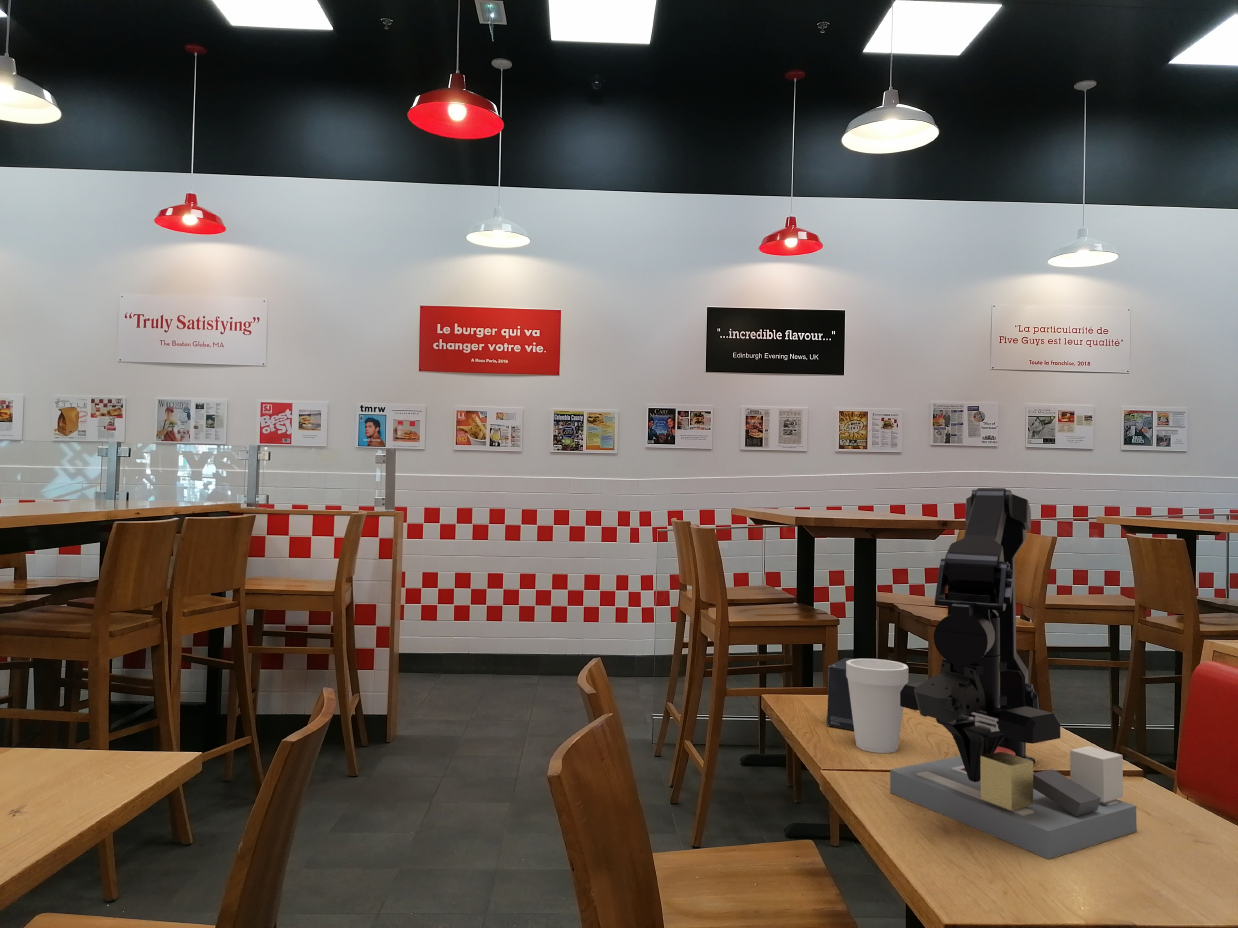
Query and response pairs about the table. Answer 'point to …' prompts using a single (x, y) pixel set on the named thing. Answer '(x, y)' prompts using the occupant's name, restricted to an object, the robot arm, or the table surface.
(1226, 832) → the table surface
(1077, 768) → the ivory slider
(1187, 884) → the table surface
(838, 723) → the small box
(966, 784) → the panel
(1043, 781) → the block
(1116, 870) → the table surface
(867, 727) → the foam cup
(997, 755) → the brass slider
